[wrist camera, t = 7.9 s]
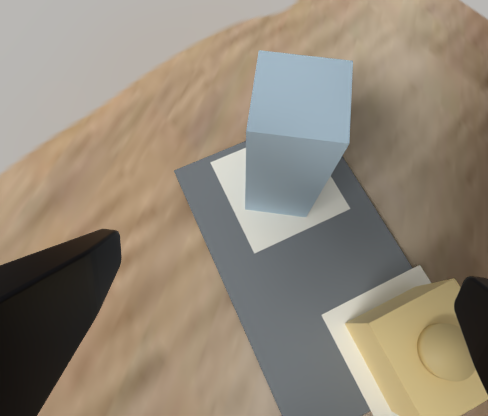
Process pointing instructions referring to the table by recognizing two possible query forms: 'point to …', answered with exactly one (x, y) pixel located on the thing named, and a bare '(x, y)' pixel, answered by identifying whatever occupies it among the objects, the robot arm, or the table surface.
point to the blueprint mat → (301, 281)
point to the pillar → (295, 130)
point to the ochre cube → (419, 352)
